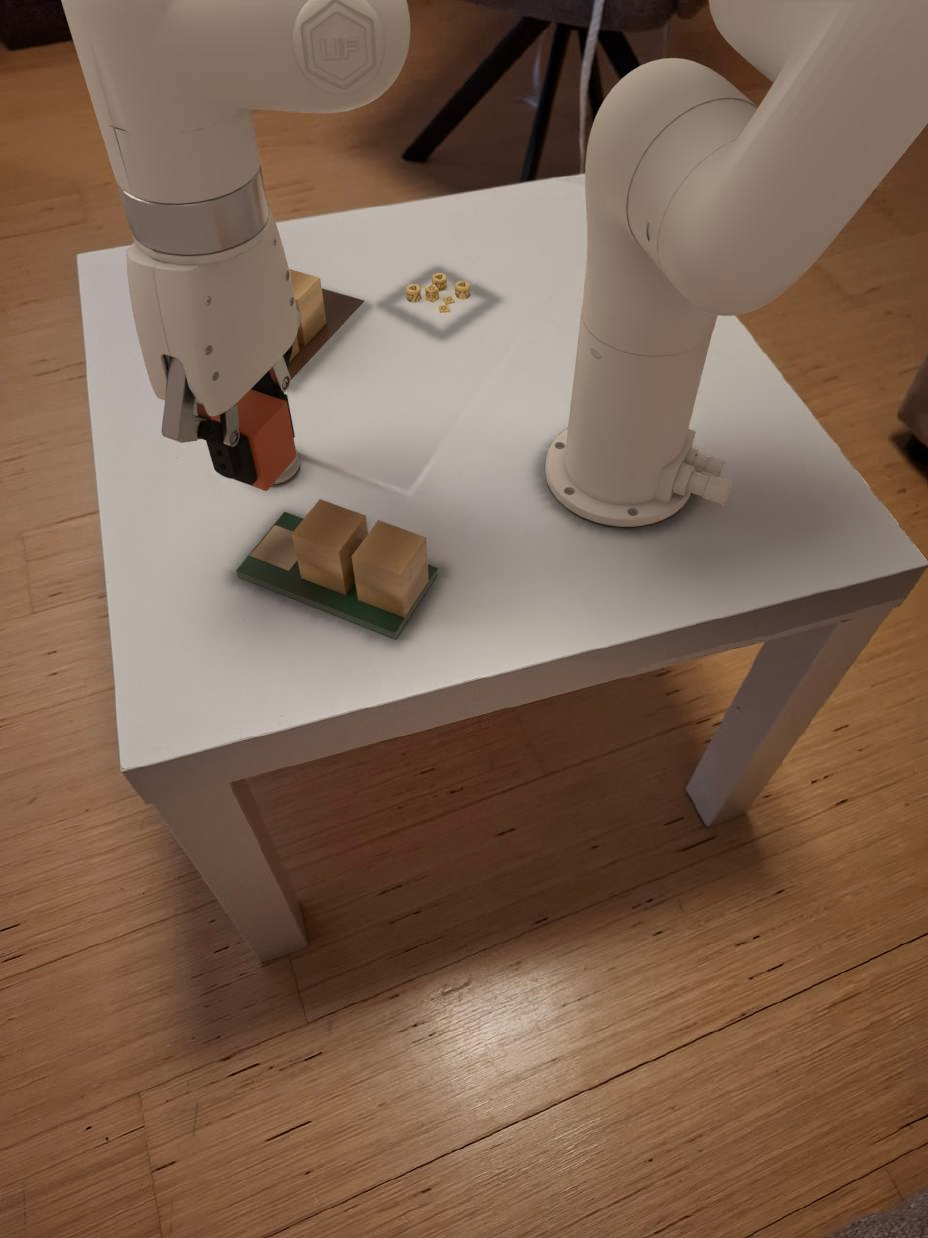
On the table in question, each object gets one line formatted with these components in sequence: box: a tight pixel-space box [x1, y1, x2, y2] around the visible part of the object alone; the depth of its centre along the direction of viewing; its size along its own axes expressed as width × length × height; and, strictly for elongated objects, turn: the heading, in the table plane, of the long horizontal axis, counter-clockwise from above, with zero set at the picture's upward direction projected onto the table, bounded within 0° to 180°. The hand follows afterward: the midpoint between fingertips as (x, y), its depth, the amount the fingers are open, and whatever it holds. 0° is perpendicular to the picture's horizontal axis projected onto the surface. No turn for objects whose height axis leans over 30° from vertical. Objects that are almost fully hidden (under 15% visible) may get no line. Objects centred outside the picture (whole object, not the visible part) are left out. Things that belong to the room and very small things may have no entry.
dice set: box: [405, 272, 471, 314], centre depth 92 cm, size 5×5×2 cm
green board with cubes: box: [235, 498, 439, 640], centre depth 69 cm, size 14×7×6 cm, turn 64°
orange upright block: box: [211, 389, 298, 492], centre depth 62 cm, size 4×4×5 cm
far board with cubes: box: [287, 268, 365, 381], centre depth 87 cm, size 7×14×6 cm, turn 154°
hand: (255, 453), depth 64 cm, fingers closed on orange upright block, 4 cm apart
